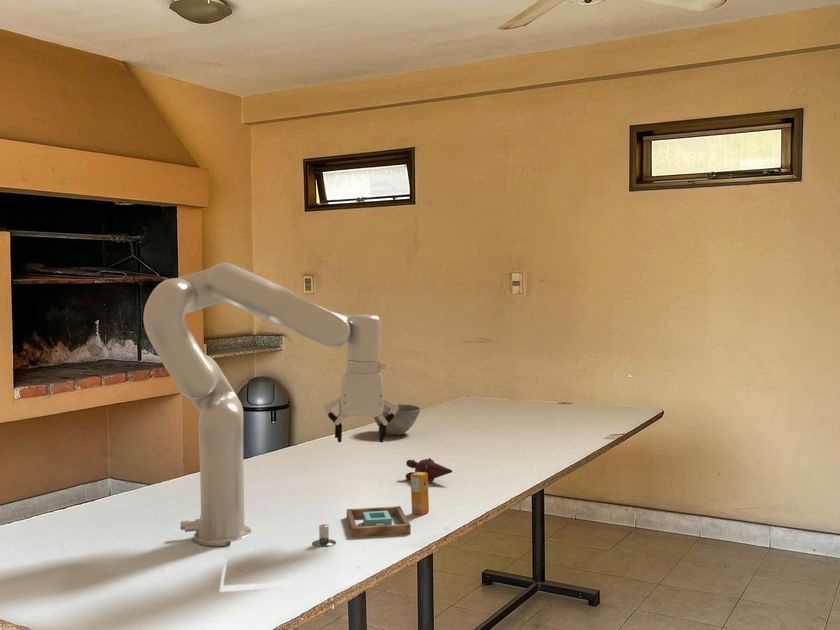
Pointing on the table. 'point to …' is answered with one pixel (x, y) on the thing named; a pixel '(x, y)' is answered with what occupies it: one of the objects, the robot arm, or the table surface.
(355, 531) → the tray
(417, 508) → the supplement box
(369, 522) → the teal tabbed square frame
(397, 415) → the bowl
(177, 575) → the table surface
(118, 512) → the table surface
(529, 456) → the table surface
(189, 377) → the robot arm
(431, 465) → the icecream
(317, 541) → the grey metallic peg stand
